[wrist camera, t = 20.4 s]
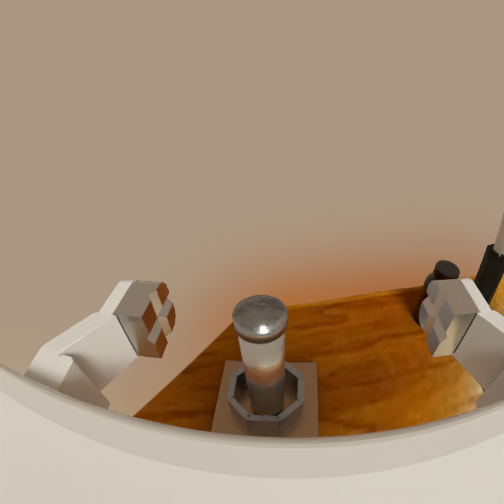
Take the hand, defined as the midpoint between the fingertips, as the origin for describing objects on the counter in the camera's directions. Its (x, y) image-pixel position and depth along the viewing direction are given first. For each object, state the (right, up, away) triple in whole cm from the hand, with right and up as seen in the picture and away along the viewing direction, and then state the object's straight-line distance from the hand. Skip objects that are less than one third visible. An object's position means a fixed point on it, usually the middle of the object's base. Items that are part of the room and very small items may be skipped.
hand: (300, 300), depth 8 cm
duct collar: (+1, -20, +28) cm, 34 cm away
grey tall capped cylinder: (+1, -19, +27) cm, 33 cm away
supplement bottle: (+32, -11, +37) cm, 50 cm away
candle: (+47, -10, +38) cm, 61 cm away
